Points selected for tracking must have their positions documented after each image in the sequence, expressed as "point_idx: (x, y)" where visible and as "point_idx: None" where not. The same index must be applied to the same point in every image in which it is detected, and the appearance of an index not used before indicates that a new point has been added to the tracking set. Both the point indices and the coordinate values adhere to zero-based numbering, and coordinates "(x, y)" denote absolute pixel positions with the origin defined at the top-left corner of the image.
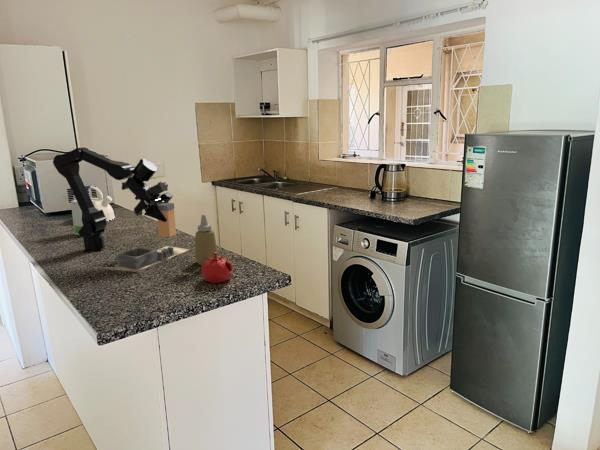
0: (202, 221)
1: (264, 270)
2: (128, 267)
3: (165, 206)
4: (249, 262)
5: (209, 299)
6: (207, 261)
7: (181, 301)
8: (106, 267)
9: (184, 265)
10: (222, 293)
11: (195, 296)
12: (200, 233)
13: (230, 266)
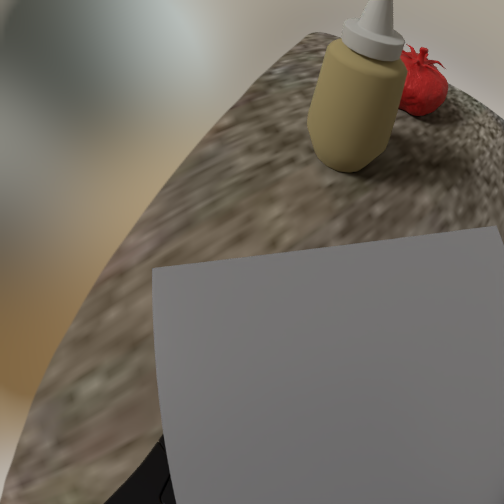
0: (392, 14)
1: (304, 51)
2: None
3: (495, 282)
4: (267, 80)
5: (461, 93)
6: (434, 76)
7: (493, 125)
8: None
9: (382, 216)
10: None
11: (472, 112)
12: (400, 58)
13: None
